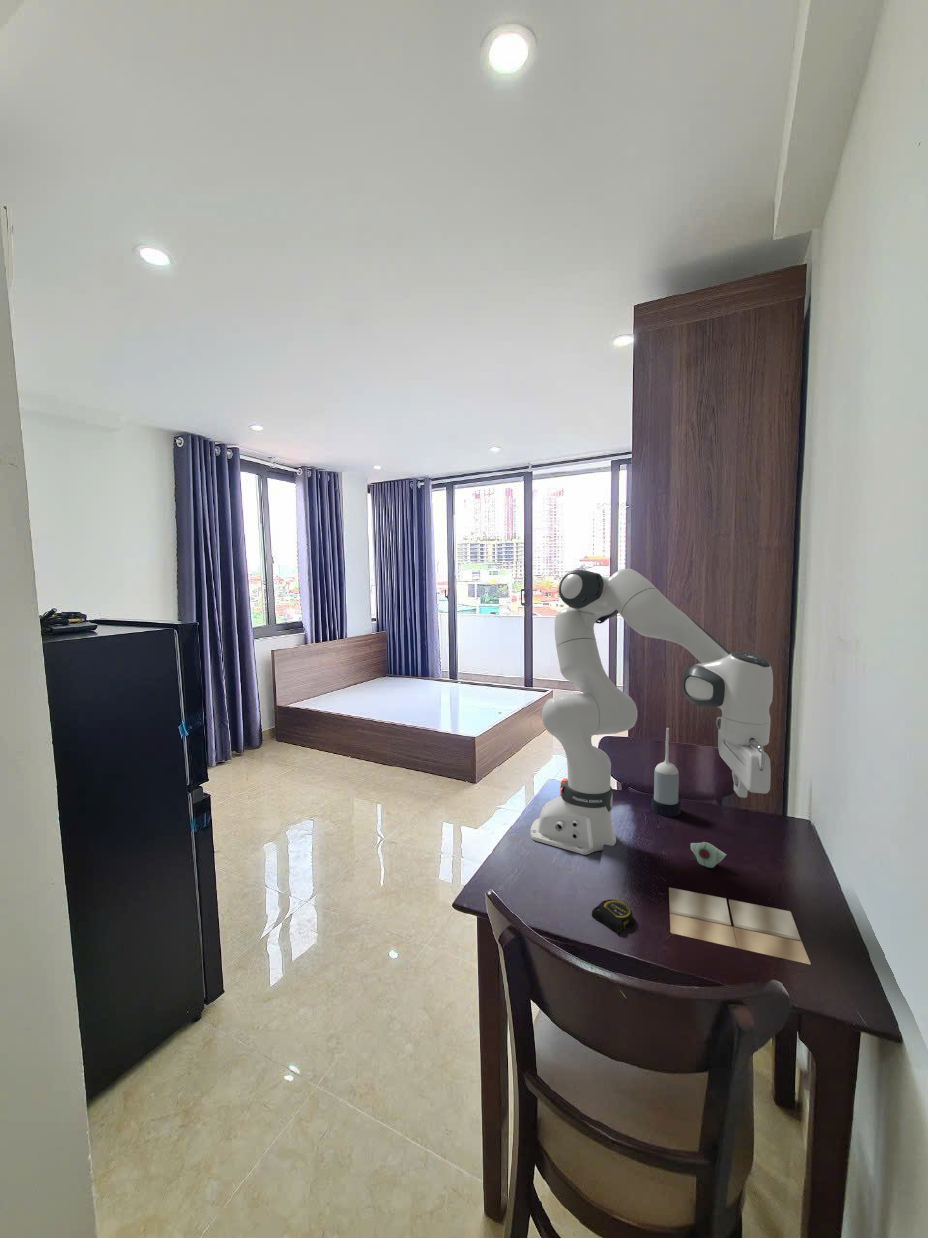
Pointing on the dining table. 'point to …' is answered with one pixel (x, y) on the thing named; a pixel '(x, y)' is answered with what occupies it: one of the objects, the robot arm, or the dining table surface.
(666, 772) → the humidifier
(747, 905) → the plank
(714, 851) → the pale green lumpy piece
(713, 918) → the plank
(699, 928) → the laid strip
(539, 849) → the dining table surface
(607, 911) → the tape measure
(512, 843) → the dining table surface
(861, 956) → the dining table surface
